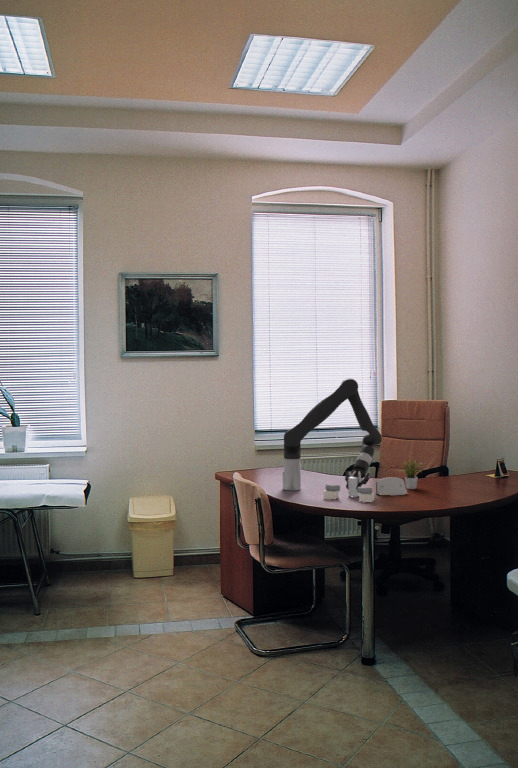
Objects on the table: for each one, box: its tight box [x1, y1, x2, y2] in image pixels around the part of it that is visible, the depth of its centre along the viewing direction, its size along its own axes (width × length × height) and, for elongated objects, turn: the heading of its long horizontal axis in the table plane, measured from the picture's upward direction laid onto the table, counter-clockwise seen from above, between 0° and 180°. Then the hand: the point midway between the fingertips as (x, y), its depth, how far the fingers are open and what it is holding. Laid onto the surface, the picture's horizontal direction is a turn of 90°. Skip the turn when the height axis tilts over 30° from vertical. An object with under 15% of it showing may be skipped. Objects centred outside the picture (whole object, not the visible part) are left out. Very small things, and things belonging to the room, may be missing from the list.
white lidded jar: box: [323, 484, 341, 500], centre depth 347 cm, size 8×6×7 cm
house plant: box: [399, 458, 425, 490], centre depth 371 cm, size 14×14×16 cm
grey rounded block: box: [374, 476, 408, 496], centre depth 357 cm, size 17×5×10 cm, turn 103°
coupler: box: [347, 476, 360, 498], centre depth 351 cm, size 4×4×10 cm
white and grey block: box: [357, 486, 375, 503], centre depth 339 cm, size 8×6×7 cm
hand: (352, 489), depth 349 cm, fingers closed on coupler, 5 cm apart
